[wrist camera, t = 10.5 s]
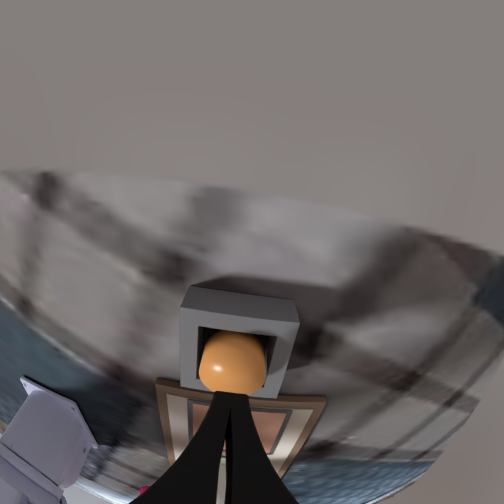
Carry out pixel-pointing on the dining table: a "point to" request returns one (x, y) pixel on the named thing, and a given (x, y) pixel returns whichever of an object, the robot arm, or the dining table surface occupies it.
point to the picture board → (263, 412)
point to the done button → (233, 363)
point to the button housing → (240, 320)
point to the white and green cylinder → (221, 484)
